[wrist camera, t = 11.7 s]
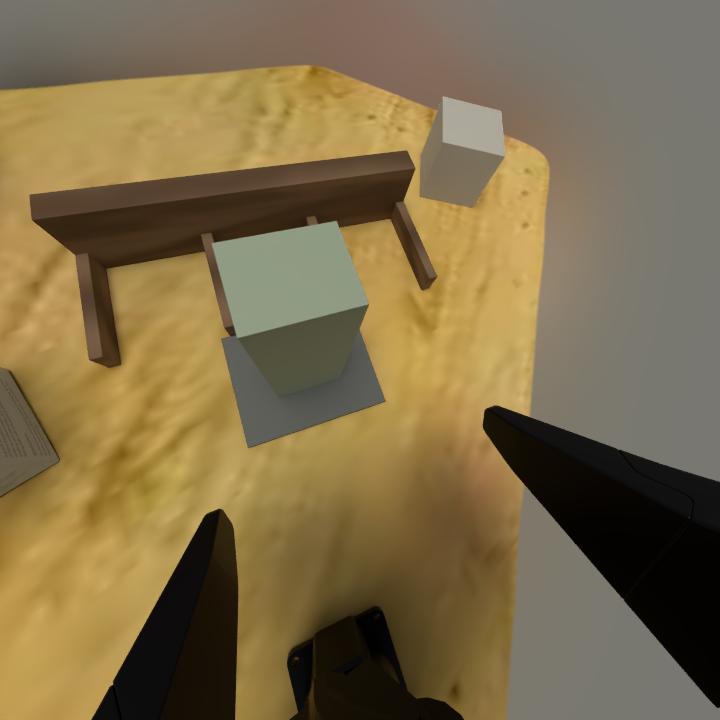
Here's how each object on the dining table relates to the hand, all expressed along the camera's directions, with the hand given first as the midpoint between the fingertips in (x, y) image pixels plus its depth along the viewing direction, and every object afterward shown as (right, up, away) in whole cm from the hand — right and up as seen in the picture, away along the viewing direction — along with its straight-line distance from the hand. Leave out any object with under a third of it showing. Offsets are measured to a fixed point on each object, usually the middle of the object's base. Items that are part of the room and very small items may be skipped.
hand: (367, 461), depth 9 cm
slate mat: (-5, +2, +14) cm, 15 cm away
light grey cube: (+9, +23, +23) cm, 34 cm away
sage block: (-5, +3, +14) cm, 15 cm away
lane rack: (-8, +11, +16) cm, 21 cm away
